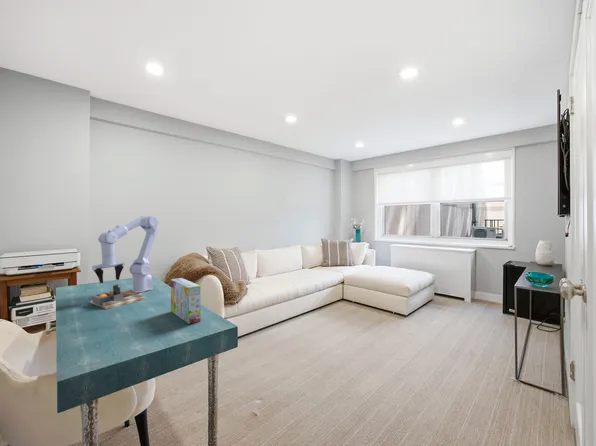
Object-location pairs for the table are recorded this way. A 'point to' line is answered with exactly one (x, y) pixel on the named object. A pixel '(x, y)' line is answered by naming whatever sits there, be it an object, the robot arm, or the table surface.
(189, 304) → the snack box
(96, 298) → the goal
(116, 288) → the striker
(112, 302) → the beige grooved board
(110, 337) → the table surface
